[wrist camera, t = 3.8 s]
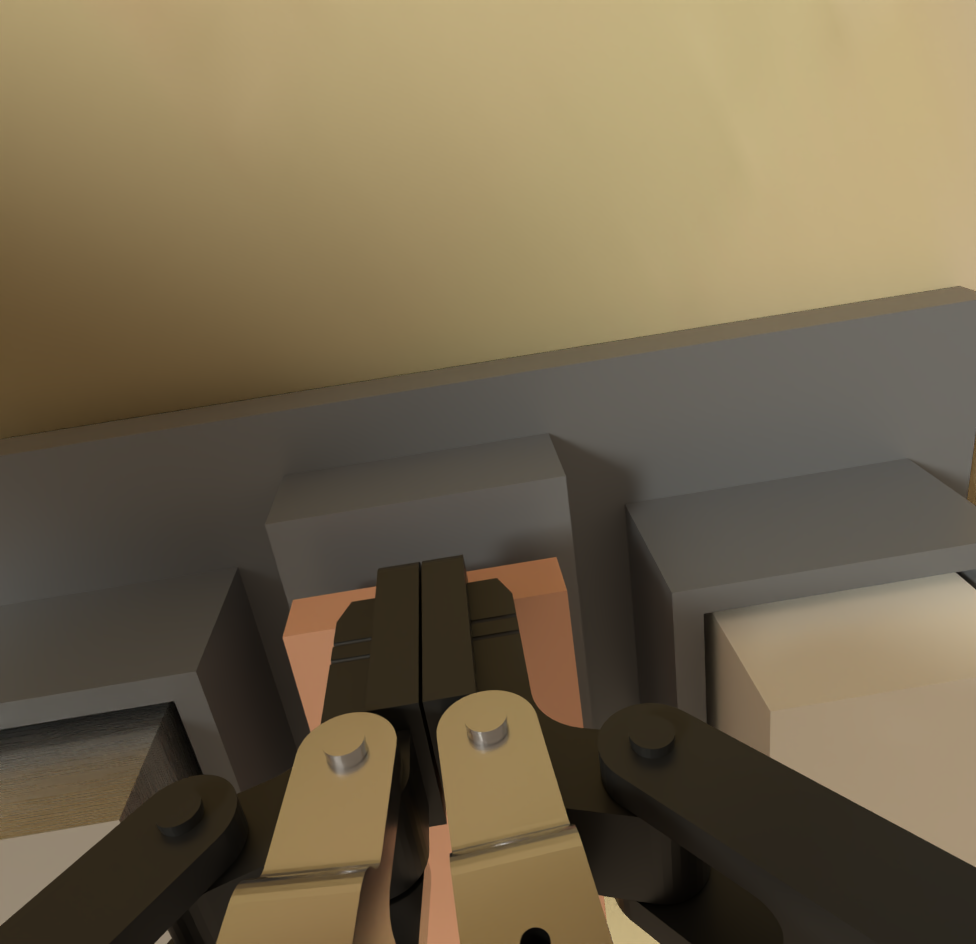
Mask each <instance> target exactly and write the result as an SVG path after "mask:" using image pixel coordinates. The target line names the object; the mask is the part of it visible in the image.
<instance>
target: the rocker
mask: <svg viewBox="0 0 976 944" xmlns="http://www.w3.org/2000/svg"><path fill="white" fill-rule="evenodd" d="M467 577H468V583H469V582H475V581H481V580H487V579H493V578H498V579H499V580H500V581H501V582H502V583H503V584H504V585H505V586H506V587H507V588H508V589H509V590H510V591H511V592H512V594H513V599H514V604H515V610H516V615H517V620H518V625H519V631H520V636H521V641H522V646H523V652H524V657H525V662H526V667H527V673H528V678H529V683H530V688H531V694H532V697H533V700H534V702H535V703H536V705H537V706H538V708H539V709H540V710H541V711H542V712H543V713H544V714H545V715H547V716H548V717H550V718H551V719H553V720H555V721H557V722H560V723H562V724H565V725H569V726H572V727H579V728H583V719H582V711H581V702H580V694H579V686H578V677H577V669H576V661H575V652H574V644H573V636H572V627H571V619H570V610H569V602H568V594H567V589H566V585H565V582H564V579H563V576H562V573H561V570H560V567H559V563H558V560H557V557H553V558H547V559H541V560H534V561H528V562H522V563H516V564H510V565H504V566H498V567H492V568H485V569H479V570H473V571H467ZM375 593H376V586H375V587H369V588H363V589H357V590H351V591H345V592H338V593H332V594H326V595H320V596H314V597H308V598H302V599H296V600H293V602H292V605H291V609H290V612H289V616H288V619H287V623H286V627H285V630H284V634H283V641H284V644H285V647H286V651H287V654H288V658H289V661H290V664H291V668H292V671H293V674H294V678H295V681H296V684H297V688H298V691H299V695H300V698H301V701H302V705H303V708H304V711H305V715H306V718H307V721H308V725H309V728H310V732H312V731H313V730H314V729H315V728H316V727H318V726H319V725H320V724H321V718H322V712H323V705H324V699H325V693H326V686H327V680H328V674H329V667H330V665H331V654H332V648H333V647H334V644H333V642H334V635H335V629H336V623H337V621H338V620H339V618H340V617H341V615H342V614H343V613H344V611H345V610H346V609H347V607H348V606H349V605H350V603H351V602H353V601H359V600H366V599H372V598H375ZM446 820H447V824H444V825H438V826H432V827H429V859H428V862H429V866H430V870H431V893H430V908H429V923H428V938H427V944H460V939H459V932H458V924H457V916H456V908H455V900H454V893H453V885H452V877H451V869H450V853H452V848H451V840H450V833H449V825H448V818H447V810H446ZM598 896H599V899H600V902H601V905H602V909H603V912H604V915H605V918H606V912H605V903H604V896H601V895H598ZM606 921H607V920H606Z"/></svg>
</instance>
